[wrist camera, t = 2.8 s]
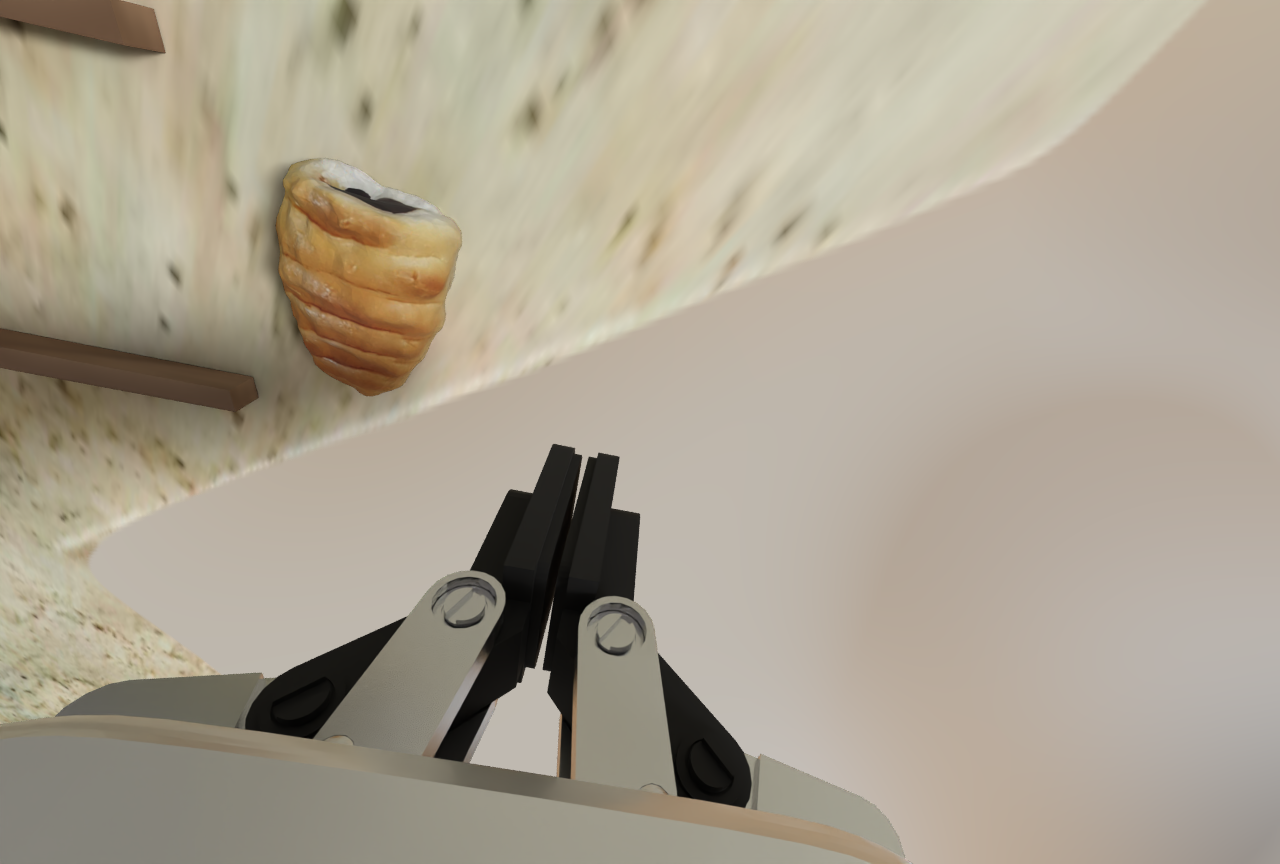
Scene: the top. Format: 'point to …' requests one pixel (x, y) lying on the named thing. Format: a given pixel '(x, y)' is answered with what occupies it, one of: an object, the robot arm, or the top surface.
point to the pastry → (363, 272)
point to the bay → (94, 11)
